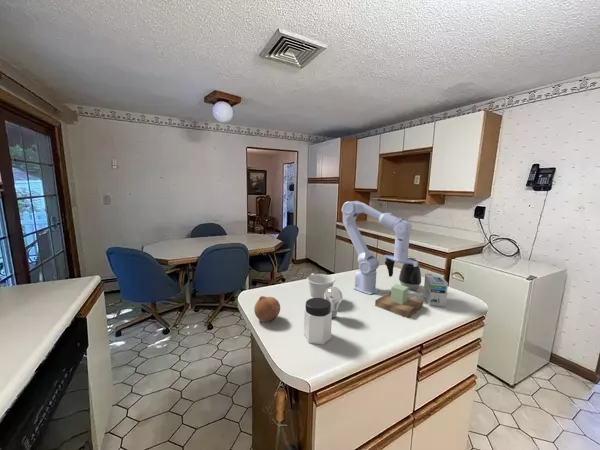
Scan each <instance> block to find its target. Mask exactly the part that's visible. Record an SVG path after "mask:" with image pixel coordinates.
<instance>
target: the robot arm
mask: <svg viewBox="0 0 600 450" xmlns="http://www.w3.org/2000/svg"><path fill="white" fill-rule="evenodd" d="M341 212H342V224H343V226H344V228H345V230H346V232H347V235H348V237H349V238H350V240H351V242H352V244H353V247H354V249H355V252H356V253H357V256H358V257H357V263H358V268H359V270H357V271H356V272H355V275H354V286H353V290H357V291H359V292H362V293H364V294H367V295H373V294H374V293H377V292H378V291H380V289H379V288H376V286H377V269H378V268H379V267H380V262H379V260H378V259H377V258H376V256H374V253H372V252H371V251H370V250H369V248H368V246H367V244H366V242H365V240H364V238H363V236H362V234H361V232H360V230H359V227H358V226H357V224H356V220H357V217H358V216H359V214H365V215H367V216H370V217H372V218H374V219H376V220H378V222H379V224H380V225H382V226H384V227H386V228H388V229H390V230H392V231H393V232H394V234H395V237H394V246H393V247H394V248H393V250H394V251H393V255H390V254H384V255H383V260H385V261H384V264H385V266H386V269H387V272H388V277H389V278H391V277H393V275H394V266H395V262H396V263H400V264H408V265H407V266H406V281H409V279H410V276H411V274H412V272H413V270H414V269H415V267H417V266H418V264H419V261H418V260H417V261H414V260H411V259H408V258H409V248H410V247H409V245H410V232H411V231H412V230H413V229H412V227H413V226H412V224H411V223H410V222H409V221H408V220H403V218H402V217H397V216H395V215H394V214H393V213H392V212H384V213H383V212H381V211H379V210H377V209H376V208H373V207H371V206H369V205H368V204H366V203H364V202H362V201H359V200H353V201H346V202H344V203H343V205H342V206H341Z"/></svg>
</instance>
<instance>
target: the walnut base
mask: <svg viewBox="0 0 600 450" xmlns="http://www.w3.org/2000/svg"><path fill="white" fill-rule="evenodd" d="M390 300H391V291H389V292H388V293H385V294H384V295H382V296H380V297H379V298H377V299H375V301H374V307H377V308H380V309H383V310H385V311H388V312H391V313H393V314H396V315H399V316H401V317H403V318H406V319H409V318H411V316H412V315H414V314H416V313H417V312H418V311H420V310H421V309H422V308H423V306H424V301H423V300H420V299H417V298H414V297H412V296H411V297H410V296H408V301H407V302H405V303H404V304H399V303H396V302H393V301H390Z"/></svg>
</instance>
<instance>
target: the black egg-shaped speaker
mask: <svg viewBox="0 0 600 450" xmlns="http://www.w3.org/2000/svg"><path fill="white" fill-rule="evenodd" d="M408 259H411V260H414V261H418V260H417V259H415V258H413V257H408ZM402 264H403V265H402V266H401V269H400V273H399V276H398V280H399V285H402V286H406V287H409V289H408V290H409V291H410V290H416V289H418V288H419V287H420V285H421V284H422V273H421V272H422V271H421V268H420V264H419V263H418V266H417V267H415V269H414V270H413V272H412V274H411V276H410V279H409V281H406V266H407V265H408V264H404V263H402Z"/></svg>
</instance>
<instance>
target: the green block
mask: <svg viewBox="0 0 600 450" xmlns="http://www.w3.org/2000/svg"><path fill="white" fill-rule="evenodd" d="M409 290H410V289H409V287H406V286H402V285H401V284H400V283H396V284H395V285H393V286H391V291H390V292H391V300H390V301H393V302H396V303H399V304H404V303H405V302H407V301H408V297H409Z"/></svg>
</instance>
